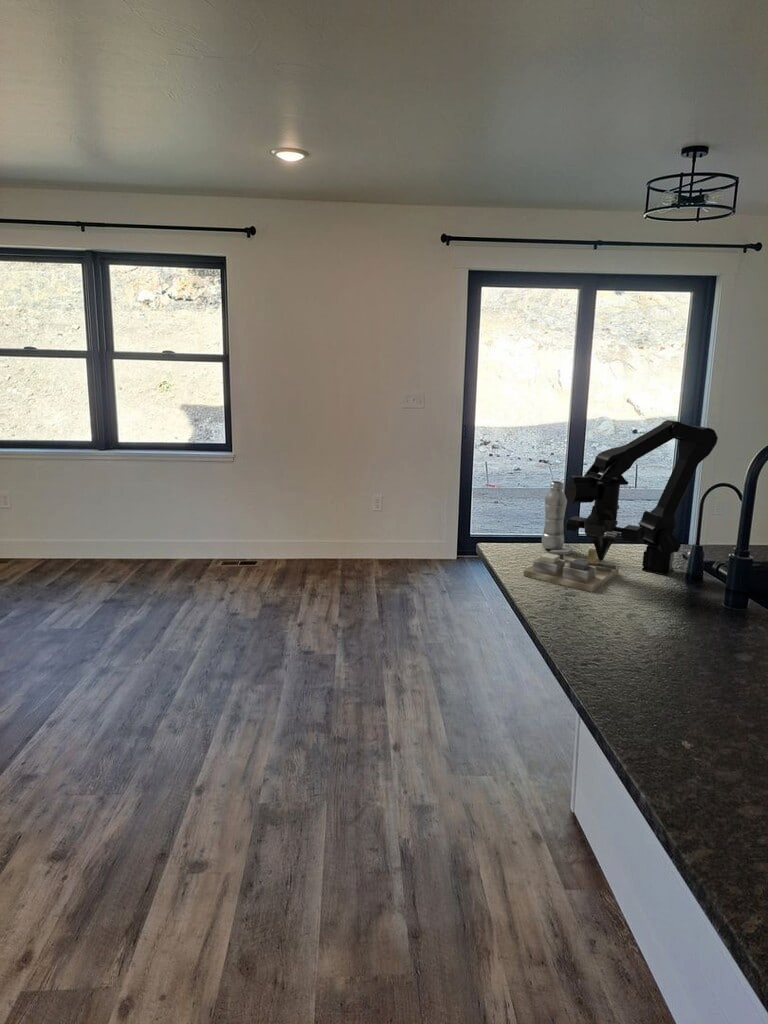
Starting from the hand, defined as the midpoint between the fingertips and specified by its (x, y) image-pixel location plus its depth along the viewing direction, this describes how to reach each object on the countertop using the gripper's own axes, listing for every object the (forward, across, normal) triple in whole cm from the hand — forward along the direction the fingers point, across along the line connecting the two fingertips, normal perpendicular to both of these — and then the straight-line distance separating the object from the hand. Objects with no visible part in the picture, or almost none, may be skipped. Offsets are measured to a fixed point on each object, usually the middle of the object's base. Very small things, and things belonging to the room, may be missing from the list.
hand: (600, 560), depth 167 cm
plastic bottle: (+4, -19, +13) cm, 24 cm away
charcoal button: (0, -1, -11) cm, 11 cm away
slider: (+2, -2, 0) cm, 3 cm away
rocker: (0, -11, 0) cm, 11 cm away
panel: (+4, -5, -6) cm, 9 cm away
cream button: (0, -9, -11) cm, 14 cm away
